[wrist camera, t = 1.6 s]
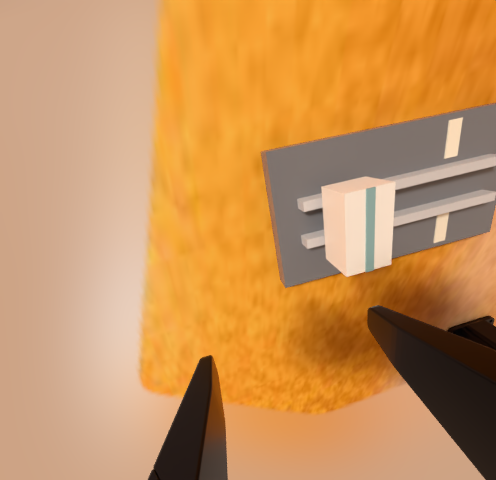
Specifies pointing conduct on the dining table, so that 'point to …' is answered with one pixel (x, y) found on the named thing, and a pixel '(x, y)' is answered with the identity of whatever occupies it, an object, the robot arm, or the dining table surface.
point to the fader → (359, 224)
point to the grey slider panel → (393, 169)
